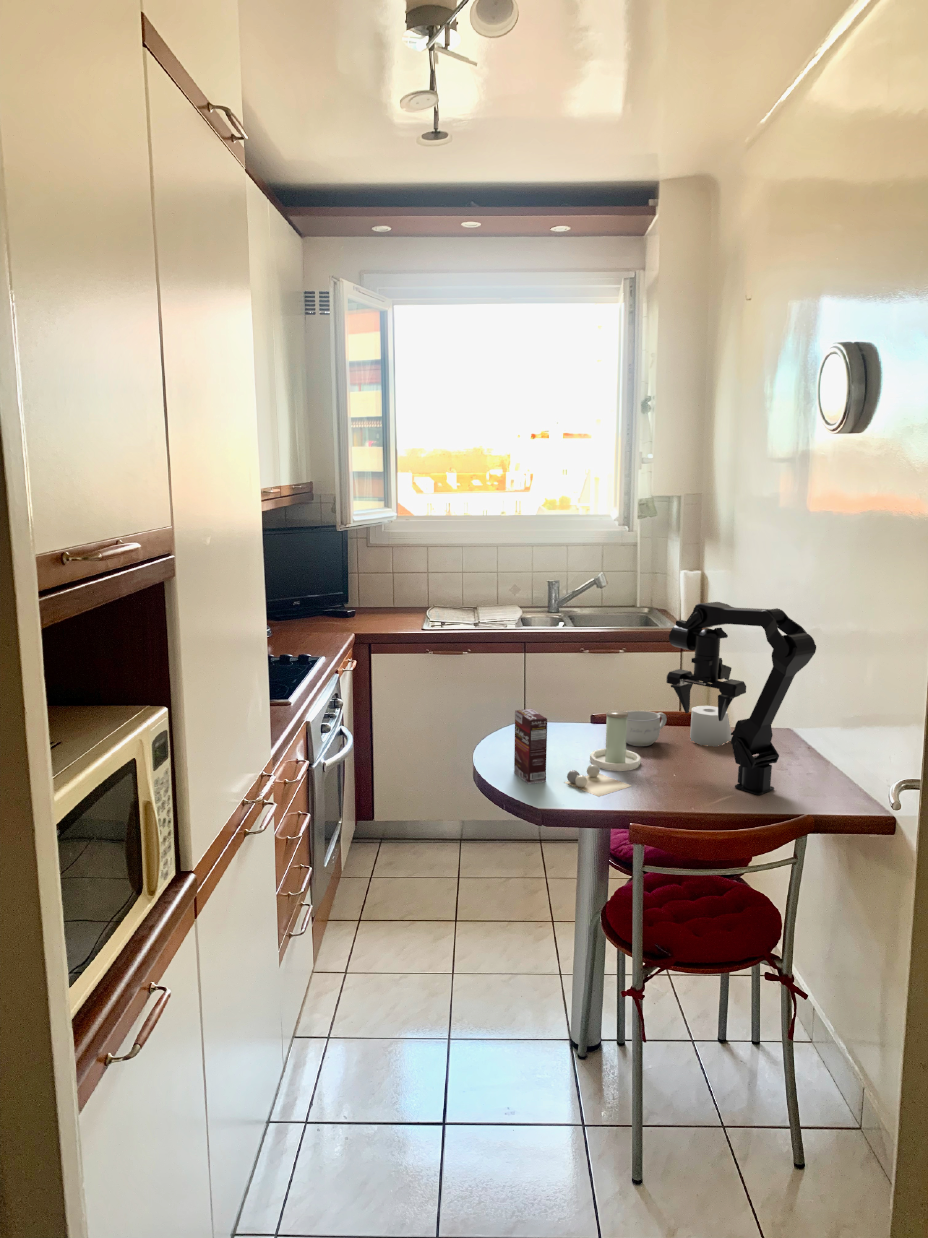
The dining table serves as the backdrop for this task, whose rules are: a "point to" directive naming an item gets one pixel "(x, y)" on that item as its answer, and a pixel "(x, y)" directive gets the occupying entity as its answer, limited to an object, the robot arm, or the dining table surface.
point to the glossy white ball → (593, 771)
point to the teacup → (644, 727)
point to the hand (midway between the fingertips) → (703, 716)
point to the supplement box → (530, 746)
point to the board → (601, 785)
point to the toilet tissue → (709, 726)
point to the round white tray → (631, 763)
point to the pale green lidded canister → (616, 736)
